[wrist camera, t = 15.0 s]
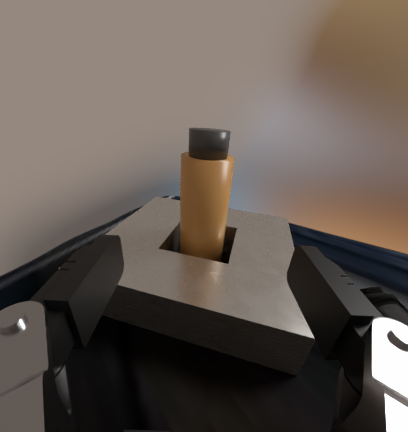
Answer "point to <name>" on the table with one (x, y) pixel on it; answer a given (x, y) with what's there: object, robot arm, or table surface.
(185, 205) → the plug
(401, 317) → the electric trimmer
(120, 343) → the table surface
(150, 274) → the grey square-holed plate
